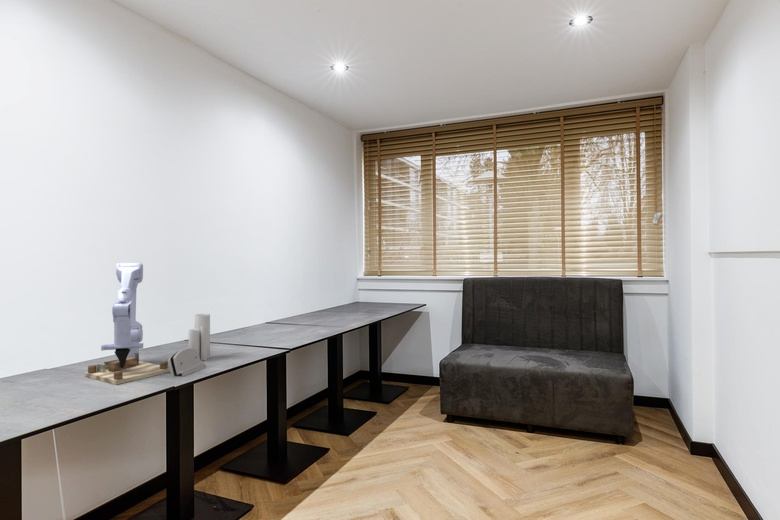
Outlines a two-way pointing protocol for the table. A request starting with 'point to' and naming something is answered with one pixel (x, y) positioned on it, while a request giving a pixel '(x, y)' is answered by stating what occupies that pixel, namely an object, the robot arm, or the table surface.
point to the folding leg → (116, 365)
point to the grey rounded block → (185, 362)
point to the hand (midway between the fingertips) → (122, 367)
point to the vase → (201, 336)
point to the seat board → (126, 371)
